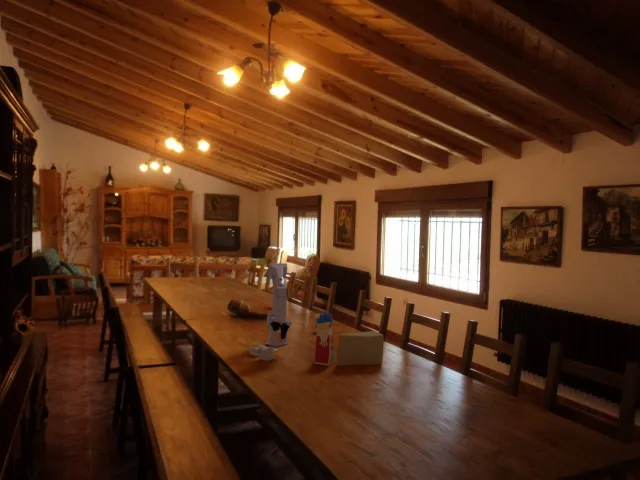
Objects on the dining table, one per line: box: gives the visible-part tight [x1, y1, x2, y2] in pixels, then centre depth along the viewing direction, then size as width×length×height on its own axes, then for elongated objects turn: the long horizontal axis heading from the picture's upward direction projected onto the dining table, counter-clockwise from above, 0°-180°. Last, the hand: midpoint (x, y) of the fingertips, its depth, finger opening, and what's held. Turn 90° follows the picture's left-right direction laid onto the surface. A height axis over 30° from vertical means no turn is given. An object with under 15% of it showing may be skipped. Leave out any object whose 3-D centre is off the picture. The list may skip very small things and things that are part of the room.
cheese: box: [336, 330, 385, 367], centre depth 233 cm, size 22×10×15 cm, turn 111°
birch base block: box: [248, 343, 267, 357], centre depth 243 cm, size 6×6×4 cm
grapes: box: [314, 311, 334, 329], centre depth 296 cm, size 12×7×12 cm, turn 110°
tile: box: [267, 346, 279, 353], centre depth 251 cm, size 7×7×1 cm
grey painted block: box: [259, 346, 274, 362], centre depth 236 cm, size 4×4×5 cm
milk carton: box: [313, 322, 336, 367], centre depth 234 cm, size 9×9×20 cm
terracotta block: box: [273, 330, 286, 343], centre depth 241 cm, size 4×4×5 cm
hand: (279, 337), depth 241 cm, fingers closed on terracotta block, 4 cm apart
